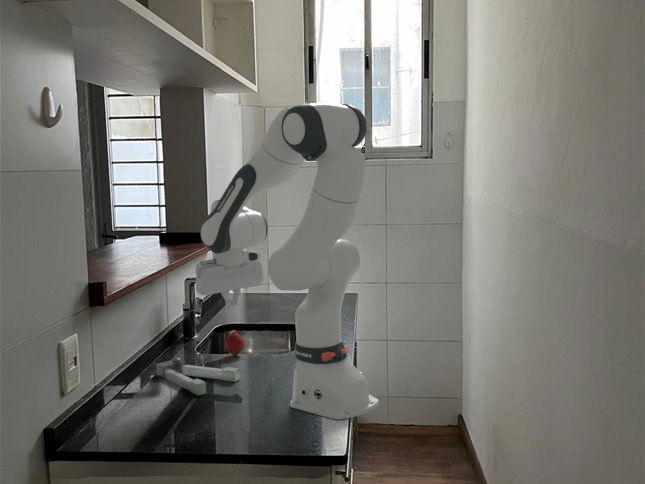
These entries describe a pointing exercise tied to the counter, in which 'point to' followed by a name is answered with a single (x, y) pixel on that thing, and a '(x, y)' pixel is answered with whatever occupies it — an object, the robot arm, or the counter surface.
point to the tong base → (180, 377)
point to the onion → (234, 343)
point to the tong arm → (210, 372)
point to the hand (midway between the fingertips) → (231, 305)
